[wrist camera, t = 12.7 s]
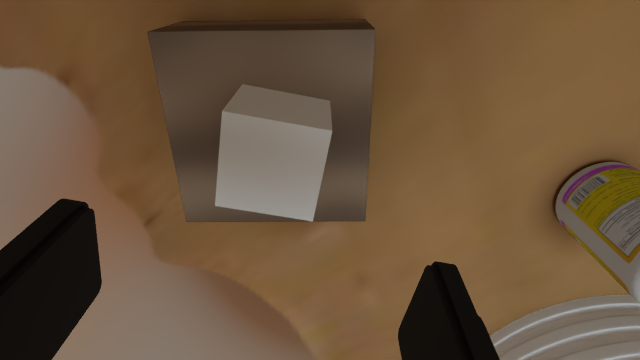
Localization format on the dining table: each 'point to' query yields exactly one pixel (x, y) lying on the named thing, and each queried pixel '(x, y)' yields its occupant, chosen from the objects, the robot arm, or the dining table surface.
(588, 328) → the plate stack
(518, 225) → the dining table surface
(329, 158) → the walnut block
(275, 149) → the off-white cube
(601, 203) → the supplement bottle
